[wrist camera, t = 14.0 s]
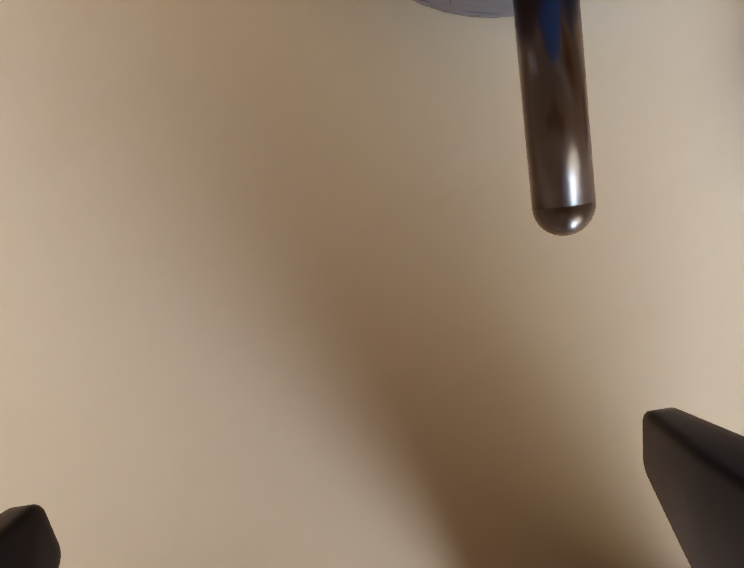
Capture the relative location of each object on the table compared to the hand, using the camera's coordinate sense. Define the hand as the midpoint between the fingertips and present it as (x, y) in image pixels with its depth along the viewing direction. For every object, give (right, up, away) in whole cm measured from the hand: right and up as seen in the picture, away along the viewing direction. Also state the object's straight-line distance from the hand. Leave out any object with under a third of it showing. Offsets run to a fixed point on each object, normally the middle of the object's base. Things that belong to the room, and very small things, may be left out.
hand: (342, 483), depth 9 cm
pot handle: (+5, +8, +8) cm, 12 cm away
